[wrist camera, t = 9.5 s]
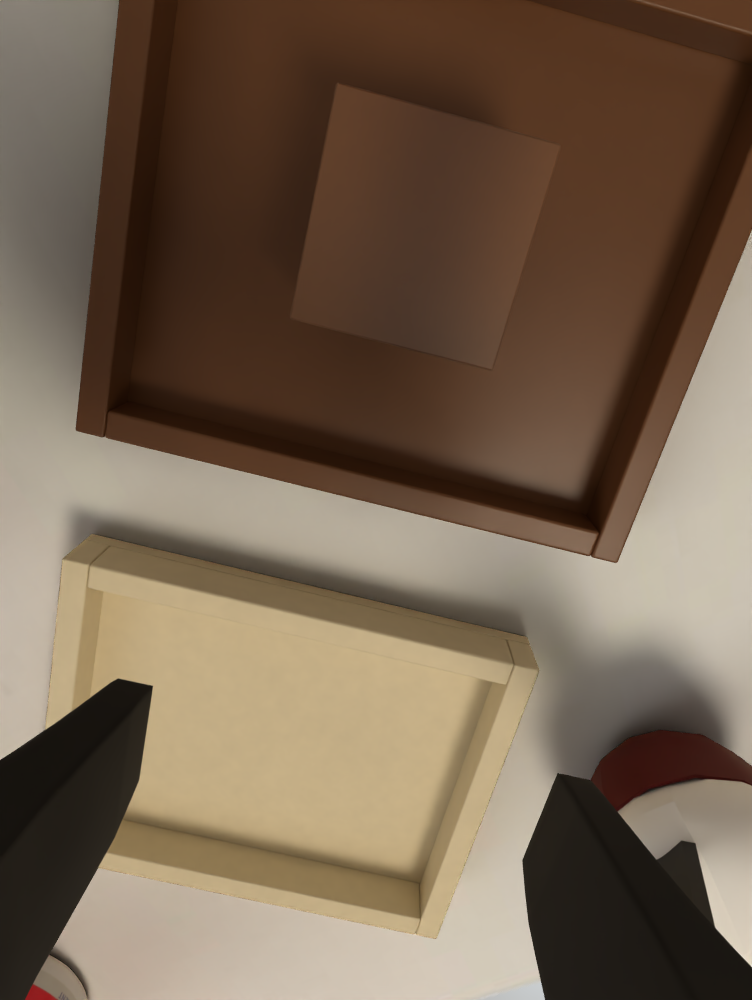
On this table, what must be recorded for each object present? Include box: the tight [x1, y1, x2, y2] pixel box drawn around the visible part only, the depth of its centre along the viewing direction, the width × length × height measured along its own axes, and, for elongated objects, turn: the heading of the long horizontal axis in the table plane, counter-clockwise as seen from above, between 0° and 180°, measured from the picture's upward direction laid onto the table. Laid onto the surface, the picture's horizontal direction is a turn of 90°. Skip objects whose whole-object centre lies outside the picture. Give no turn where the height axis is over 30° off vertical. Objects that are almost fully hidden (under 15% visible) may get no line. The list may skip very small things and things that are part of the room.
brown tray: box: [76, 0, 752, 563], centre depth 17 cm, size 16×14×2 cm
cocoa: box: [591, 730, 752, 967], centre depth 18 cm, size 10×6×12 cm, turn 24°
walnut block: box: [290, 83, 561, 371], centre depth 15 cm, size 4×4×4 cm
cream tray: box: [45, 534, 539, 939], centre depth 22 cm, size 15×12×2 cm
